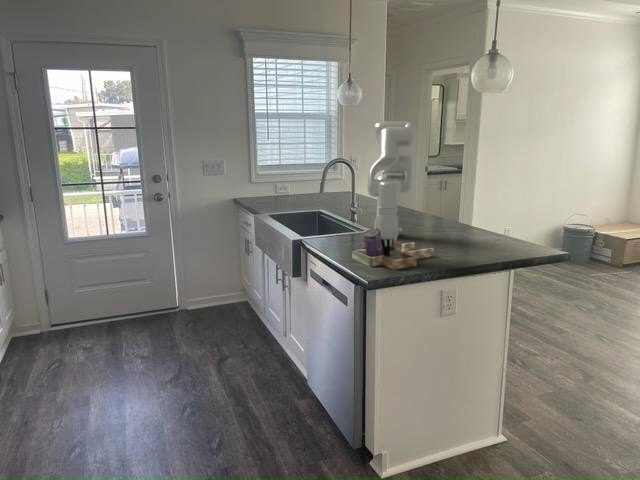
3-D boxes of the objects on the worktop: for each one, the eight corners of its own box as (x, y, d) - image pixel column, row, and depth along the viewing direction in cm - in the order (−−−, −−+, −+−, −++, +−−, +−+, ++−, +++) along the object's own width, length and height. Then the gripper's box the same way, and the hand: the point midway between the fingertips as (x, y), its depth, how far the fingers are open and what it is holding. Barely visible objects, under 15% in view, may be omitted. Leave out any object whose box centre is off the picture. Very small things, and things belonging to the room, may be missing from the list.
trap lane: (401, 246, 224) (401, 238, 224) (446, 260, 200) (447, 252, 199) (341, 254, 208) (341, 247, 208) (383, 271, 183) (383, 262, 183)
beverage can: (382, 252, 202) (378, 227, 196) (385, 260, 196) (381, 235, 190) (366, 255, 202) (361, 230, 197) (368, 263, 196) (363, 238, 191)
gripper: (395, 209, 203) (393, 251, 207) (367, 211, 196) (366, 255, 200) (407, 211, 197) (405, 254, 201) (378, 214, 190) (377, 259, 193)
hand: (385, 255), depth 200 cm, fingers closed
